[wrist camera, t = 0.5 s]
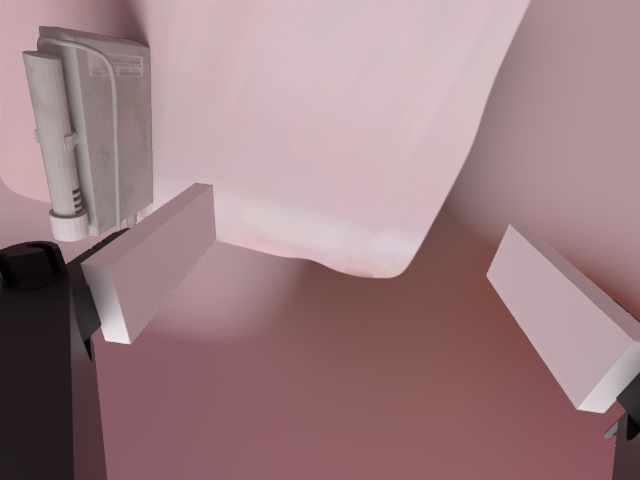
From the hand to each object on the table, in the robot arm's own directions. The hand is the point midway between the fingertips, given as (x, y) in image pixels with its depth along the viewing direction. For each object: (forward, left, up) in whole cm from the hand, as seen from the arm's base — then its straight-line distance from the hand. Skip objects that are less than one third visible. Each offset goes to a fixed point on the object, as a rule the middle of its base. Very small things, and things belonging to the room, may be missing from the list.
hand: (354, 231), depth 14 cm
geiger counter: (0, -27, -27) cm, 38 cm away
